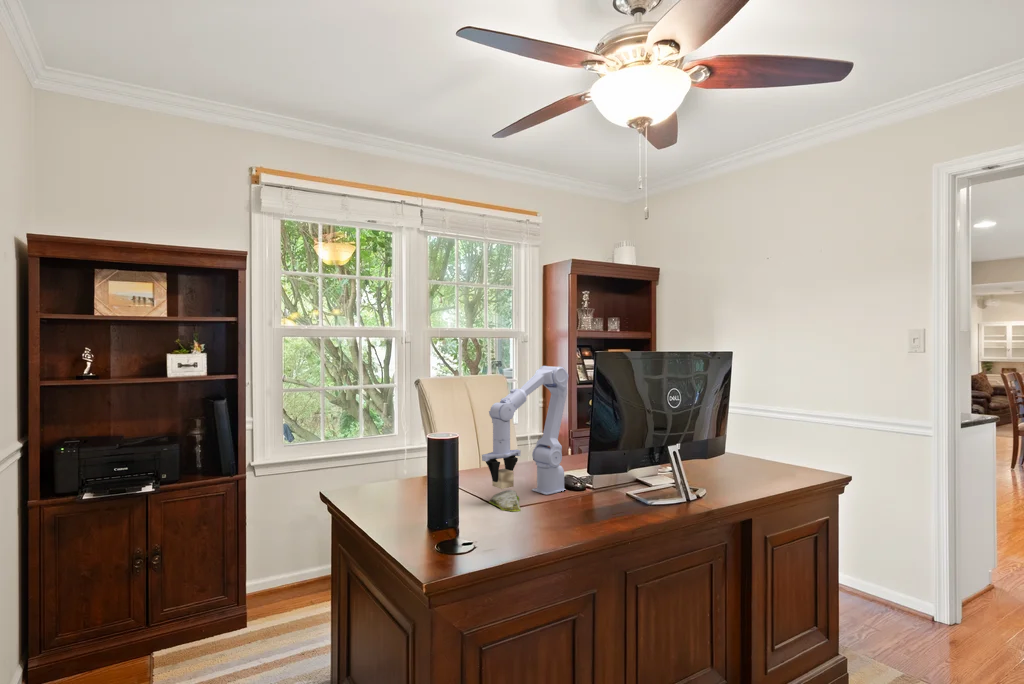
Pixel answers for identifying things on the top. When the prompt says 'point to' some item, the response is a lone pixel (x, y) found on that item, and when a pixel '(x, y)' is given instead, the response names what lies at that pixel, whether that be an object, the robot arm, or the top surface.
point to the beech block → (504, 479)
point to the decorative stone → (506, 500)
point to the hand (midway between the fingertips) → (501, 480)
